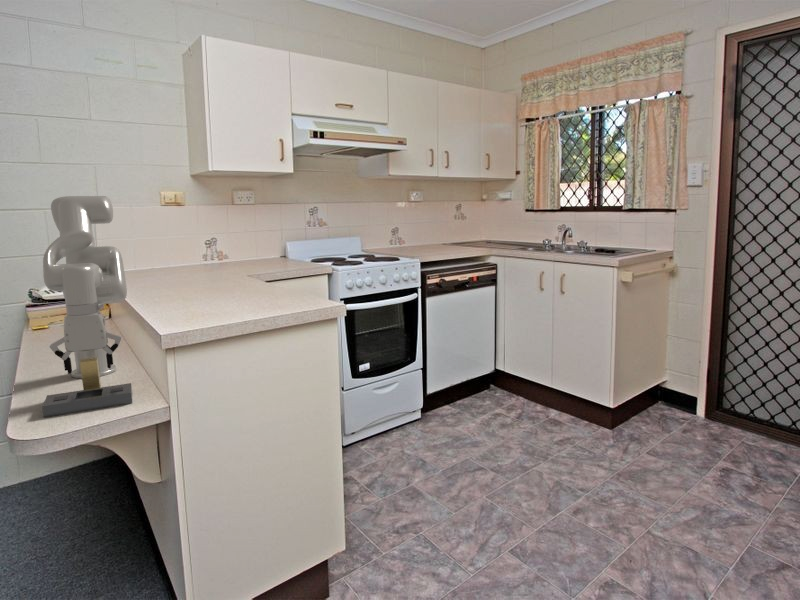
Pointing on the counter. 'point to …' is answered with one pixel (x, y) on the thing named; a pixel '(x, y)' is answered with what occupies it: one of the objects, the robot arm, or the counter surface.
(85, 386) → the brass peg
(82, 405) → the grey peg hole board
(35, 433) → the counter surface
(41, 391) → the counter surface
